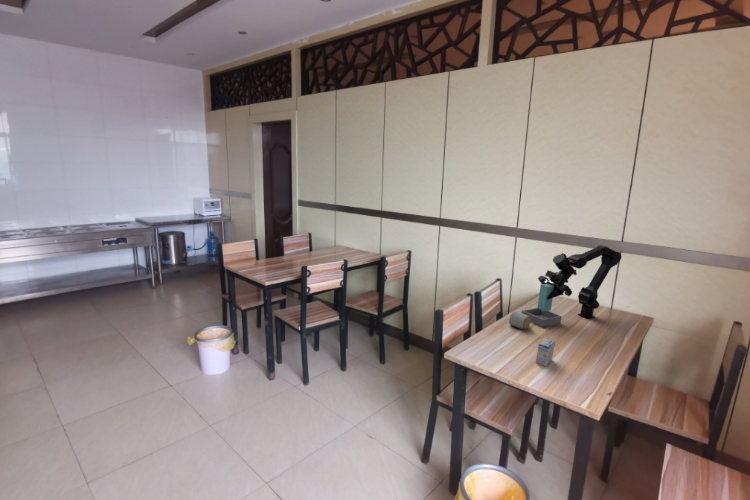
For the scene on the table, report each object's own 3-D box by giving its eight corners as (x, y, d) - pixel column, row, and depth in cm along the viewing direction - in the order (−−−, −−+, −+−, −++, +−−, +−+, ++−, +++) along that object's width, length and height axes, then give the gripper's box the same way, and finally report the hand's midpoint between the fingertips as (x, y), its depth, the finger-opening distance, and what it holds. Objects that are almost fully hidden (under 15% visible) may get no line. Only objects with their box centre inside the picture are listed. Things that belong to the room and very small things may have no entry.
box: (539, 314, 215) (540, 307, 214) (560, 323, 203) (561, 316, 202) (521, 317, 209) (522, 310, 208) (542, 327, 197) (543, 320, 196)
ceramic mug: (523, 332, 191) (525, 317, 189) (507, 326, 197) (509, 311, 195) (533, 327, 198) (535, 312, 196) (518, 321, 204) (520, 307, 202)
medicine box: (541, 356, 167) (544, 337, 165) (552, 360, 164) (555, 340, 162) (535, 363, 161) (538, 343, 159) (546, 367, 158) (549, 347, 156)
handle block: (544, 307, 206) (547, 283, 203) (550, 310, 202) (554, 286, 199) (537, 308, 204) (540, 284, 202) (543, 311, 200) (547, 287, 197)
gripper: (543, 260, 208) (523, 282, 207) (571, 270, 191) (550, 293, 190) (552, 274, 212) (533, 295, 211) (581, 284, 195) (560, 307, 194)
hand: (543, 297), depth 201 cm, fingers closed on handle block, 4 cm apart
